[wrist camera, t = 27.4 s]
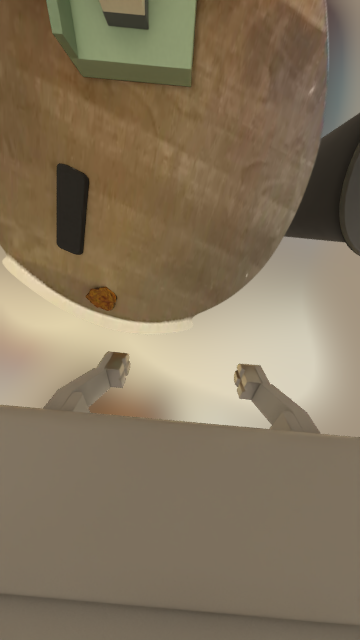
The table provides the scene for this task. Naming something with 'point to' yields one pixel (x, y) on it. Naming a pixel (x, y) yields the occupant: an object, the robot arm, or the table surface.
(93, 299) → the leaf
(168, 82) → the green l-shaped bracket
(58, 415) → the robot arm
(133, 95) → the table surface
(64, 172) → the remote control
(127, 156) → the table surface
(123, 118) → the table surface
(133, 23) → the beige stepped block
